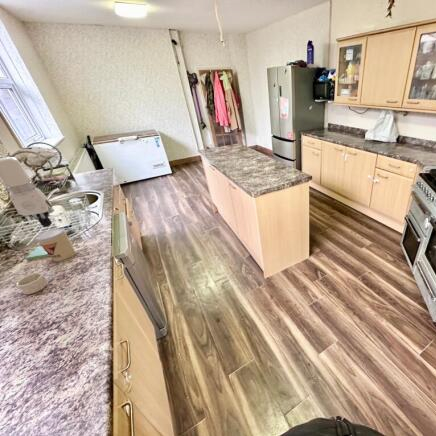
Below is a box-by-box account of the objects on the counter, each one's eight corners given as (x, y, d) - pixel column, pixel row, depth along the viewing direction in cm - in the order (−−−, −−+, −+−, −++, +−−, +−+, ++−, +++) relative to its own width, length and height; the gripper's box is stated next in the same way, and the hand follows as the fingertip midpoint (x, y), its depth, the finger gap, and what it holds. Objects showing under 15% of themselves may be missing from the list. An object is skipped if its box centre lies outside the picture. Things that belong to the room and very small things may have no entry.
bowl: (18, 297, 84) (10, 288, 82) (31, 283, 90) (24, 275, 88) (41, 292, 86) (34, 283, 83) (52, 279, 91) (46, 270, 89)
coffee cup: (45, 262, 101) (28, 239, 96) (65, 249, 110) (51, 227, 104) (63, 263, 100) (48, 240, 94) (83, 249, 108) (69, 228, 102)
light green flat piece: (27, 260, 103) (23, 255, 102) (41, 247, 112) (38, 242, 110) (58, 254, 106) (54, 249, 104) (70, 242, 114) (66, 237, 113)
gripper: (-7, 194, 92) (22, 233, 101) (38, 188, 95) (62, 226, 104) (7, 187, 98) (33, 224, 108) (48, 182, 102) (71, 218, 111)
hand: (47, 225), depth 106 cm, fingers closed
